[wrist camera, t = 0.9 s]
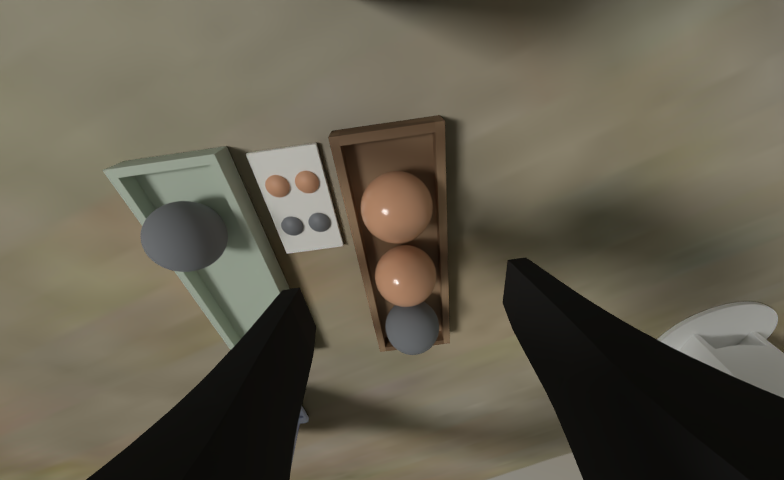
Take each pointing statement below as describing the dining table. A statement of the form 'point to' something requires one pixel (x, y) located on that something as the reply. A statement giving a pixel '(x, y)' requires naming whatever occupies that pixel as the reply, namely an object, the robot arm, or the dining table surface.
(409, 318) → the grey ball
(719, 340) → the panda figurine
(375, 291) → the walnut trough
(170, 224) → the grey ball
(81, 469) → the dining table surface
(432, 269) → the terracotta ball
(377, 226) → the terracotta ball
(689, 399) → the robot arm
